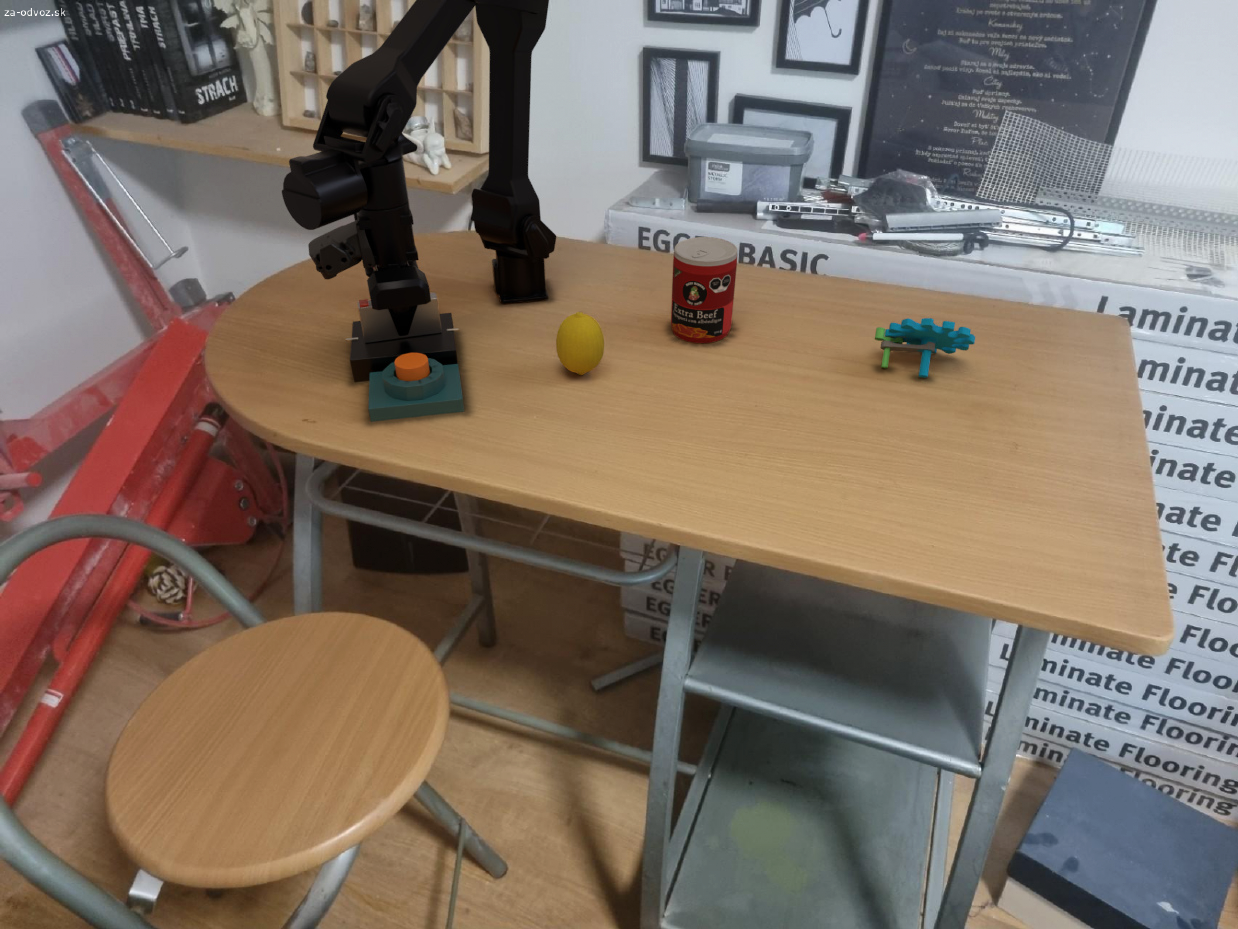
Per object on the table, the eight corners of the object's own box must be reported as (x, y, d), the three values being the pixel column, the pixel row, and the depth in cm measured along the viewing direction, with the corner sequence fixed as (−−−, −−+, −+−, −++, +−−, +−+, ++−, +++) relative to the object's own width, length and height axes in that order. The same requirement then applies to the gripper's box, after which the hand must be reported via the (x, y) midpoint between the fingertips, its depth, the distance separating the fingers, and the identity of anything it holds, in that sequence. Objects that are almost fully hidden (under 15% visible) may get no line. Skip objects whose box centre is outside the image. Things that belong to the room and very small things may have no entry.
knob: (439, 326, 106) (435, 289, 103) (441, 332, 104) (437, 296, 102) (363, 336, 104) (356, 299, 101) (364, 343, 102) (357, 306, 99)
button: (429, 364, 98) (427, 351, 97) (430, 380, 95) (428, 366, 94) (396, 368, 97) (394, 354, 96) (396, 384, 94) (394, 370, 93)
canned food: (661, 338, 110) (664, 255, 103) (682, 312, 116) (686, 232, 109) (720, 349, 108) (727, 265, 101) (738, 322, 114) (745, 241, 107)
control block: (459, 376, 102) (456, 349, 100) (464, 412, 96) (461, 384, 94) (371, 385, 100) (366, 358, 98) (370, 422, 94) (365, 394, 92)
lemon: (598, 388, 100) (598, 325, 95) (552, 383, 101) (549, 320, 96) (609, 365, 104) (608, 304, 100) (564, 360, 105) (561, 299, 100)
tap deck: (457, 327, 112) (455, 305, 110) (465, 378, 102) (462, 354, 100) (352, 337, 110) (347, 314, 108) (348, 390, 99) (343, 365, 98)
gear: (976, 345, 105) (975, 315, 96) (969, 392, 104) (968, 366, 95) (881, 339, 109) (873, 309, 100) (874, 384, 108) (864, 358, 99)
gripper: (302, 182, 100) (328, 307, 109) (307, 240, 85) (336, 379, 94) (401, 173, 103) (418, 295, 112) (421, 228, 88) (439, 363, 97)
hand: (402, 331), depth 104 cm, fingers closed on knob, 2 cm apart
